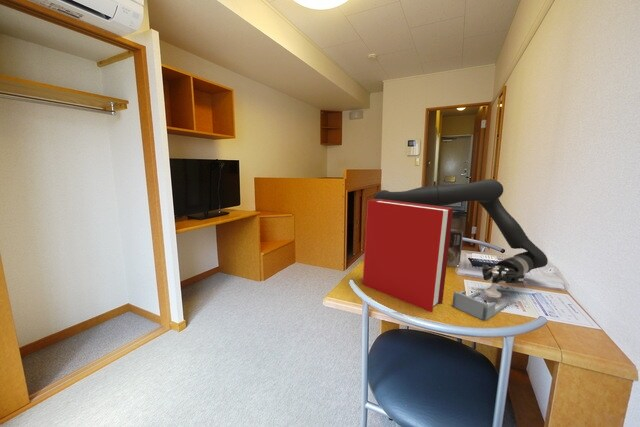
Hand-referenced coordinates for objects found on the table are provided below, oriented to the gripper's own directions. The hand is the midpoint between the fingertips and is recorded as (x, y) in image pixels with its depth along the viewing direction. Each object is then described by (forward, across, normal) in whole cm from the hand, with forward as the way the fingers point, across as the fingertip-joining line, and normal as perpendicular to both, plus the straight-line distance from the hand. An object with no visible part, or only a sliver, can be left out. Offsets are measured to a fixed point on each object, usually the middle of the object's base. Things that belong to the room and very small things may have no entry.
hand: (489, 278), depth 89 cm
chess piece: (-4, 0, +7) cm, 8 cm away
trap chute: (+3, 0, +9) cm, 9 cm away
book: (+20, -20, +9) cm, 29 cm away
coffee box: (-25, -28, +9) cm, 39 cm away
